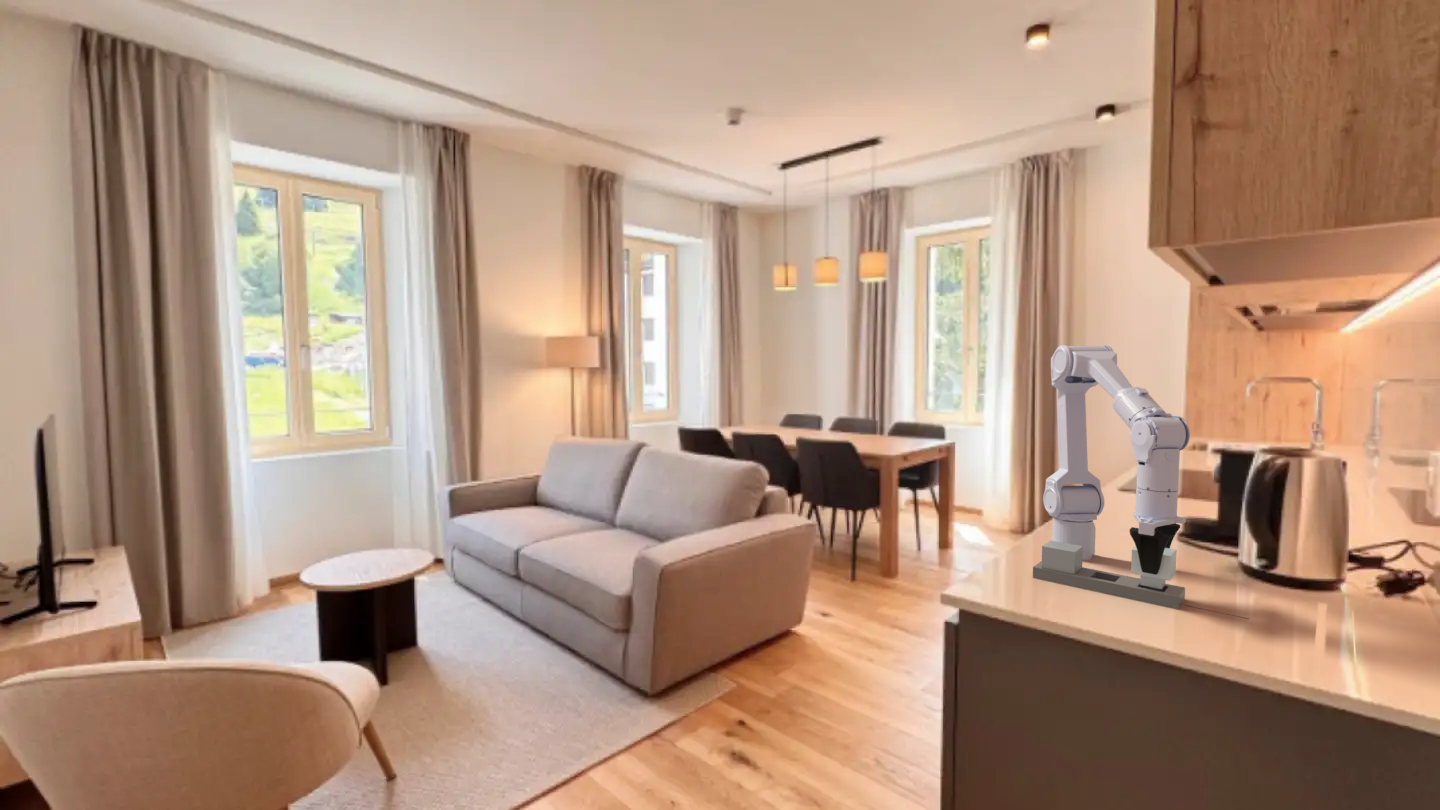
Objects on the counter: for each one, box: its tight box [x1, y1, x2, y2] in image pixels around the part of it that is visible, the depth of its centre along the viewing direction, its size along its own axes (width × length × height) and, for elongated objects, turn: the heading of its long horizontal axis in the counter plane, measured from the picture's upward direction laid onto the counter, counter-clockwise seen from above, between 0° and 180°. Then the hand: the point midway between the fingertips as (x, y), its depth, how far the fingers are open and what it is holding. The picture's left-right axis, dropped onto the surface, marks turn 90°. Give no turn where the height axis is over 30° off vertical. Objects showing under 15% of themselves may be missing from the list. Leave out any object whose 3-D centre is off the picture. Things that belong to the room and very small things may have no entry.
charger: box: [1130, 545, 1177, 589], centre depth 107 cm, size 5×5×6 cm
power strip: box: [1032, 540, 1250, 620], centre depth 109 cm, size 6×30×7 cm, turn 46°
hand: (1153, 568), depth 107 cm, fingers closed on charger, 5 cm apart
